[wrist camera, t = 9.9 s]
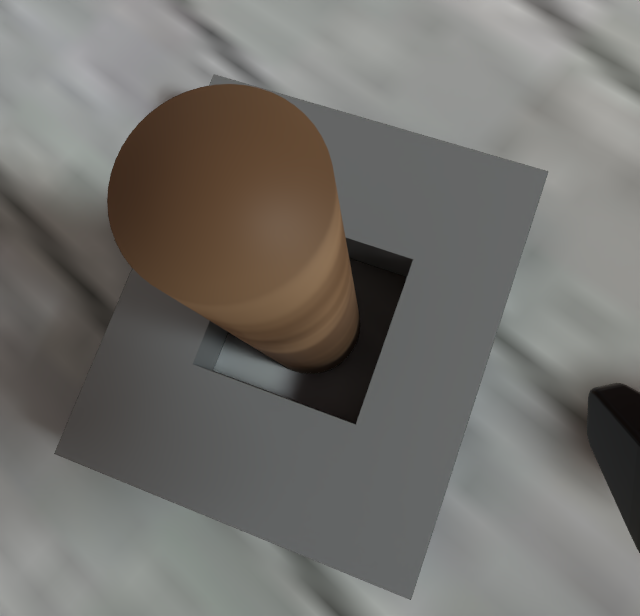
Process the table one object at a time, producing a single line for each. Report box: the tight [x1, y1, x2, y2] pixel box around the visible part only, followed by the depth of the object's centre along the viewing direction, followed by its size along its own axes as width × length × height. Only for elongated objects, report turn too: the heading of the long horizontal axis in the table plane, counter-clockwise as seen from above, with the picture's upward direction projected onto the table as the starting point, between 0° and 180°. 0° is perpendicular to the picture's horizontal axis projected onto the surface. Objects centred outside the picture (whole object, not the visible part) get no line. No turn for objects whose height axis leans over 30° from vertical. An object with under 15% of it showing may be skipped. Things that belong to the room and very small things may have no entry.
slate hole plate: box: [54, 75, 548, 600], centre depth 21 cm, size 14×12×2 cm
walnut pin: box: [107, 84, 360, 374], centre depth 16 cm, size 4×4×13 cm
